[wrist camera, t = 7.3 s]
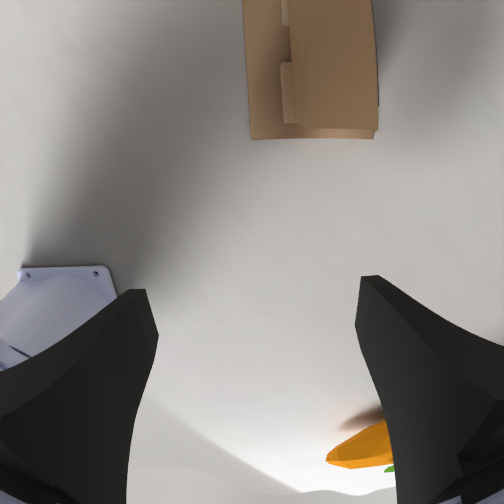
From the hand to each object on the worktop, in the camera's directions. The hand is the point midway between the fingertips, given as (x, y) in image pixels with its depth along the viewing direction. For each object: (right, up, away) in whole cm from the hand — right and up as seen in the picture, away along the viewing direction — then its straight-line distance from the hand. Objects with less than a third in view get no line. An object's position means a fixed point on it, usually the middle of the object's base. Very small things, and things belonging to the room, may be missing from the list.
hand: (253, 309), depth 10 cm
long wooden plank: (+3, +14, +1) cm, 14 cm away
